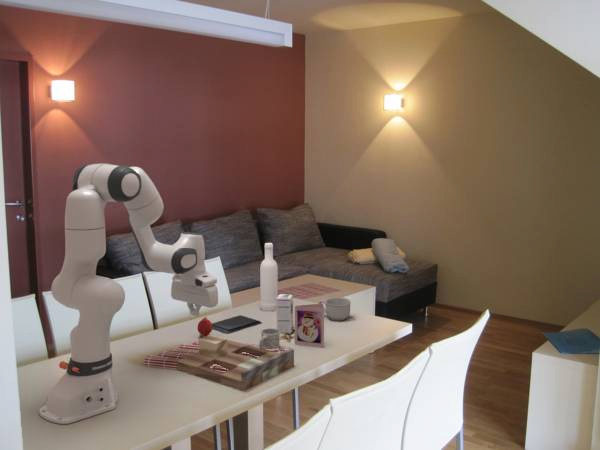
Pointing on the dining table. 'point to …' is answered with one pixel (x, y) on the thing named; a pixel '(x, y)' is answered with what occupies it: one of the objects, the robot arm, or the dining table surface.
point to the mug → (269, 339)
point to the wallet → (234, 324)
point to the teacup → (337, 308)
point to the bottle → (268, 280)
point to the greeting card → (309, 325)
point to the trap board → (238, 365)
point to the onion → (204, 327)
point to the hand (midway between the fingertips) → (194, 314)
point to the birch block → (213, 346)
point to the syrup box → (285, 313)
